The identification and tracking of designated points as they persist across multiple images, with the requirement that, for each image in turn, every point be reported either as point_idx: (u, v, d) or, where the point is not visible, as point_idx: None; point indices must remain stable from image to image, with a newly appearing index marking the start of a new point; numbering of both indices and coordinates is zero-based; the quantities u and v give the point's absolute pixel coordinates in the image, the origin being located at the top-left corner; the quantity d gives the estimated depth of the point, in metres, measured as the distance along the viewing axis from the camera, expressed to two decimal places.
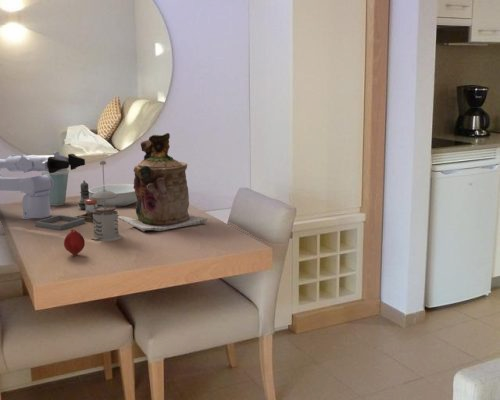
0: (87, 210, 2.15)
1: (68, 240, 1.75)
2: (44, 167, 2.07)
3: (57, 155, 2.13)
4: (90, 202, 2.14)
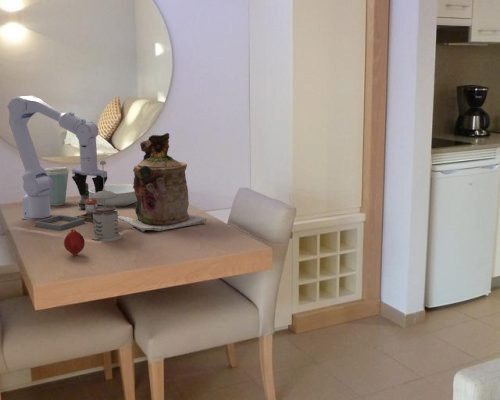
0: (87, 210, 2.15)
1: (68, 240, 1.75)
2: (104, 176, 2.10)
3: None
4: (90, 202, 2.14)
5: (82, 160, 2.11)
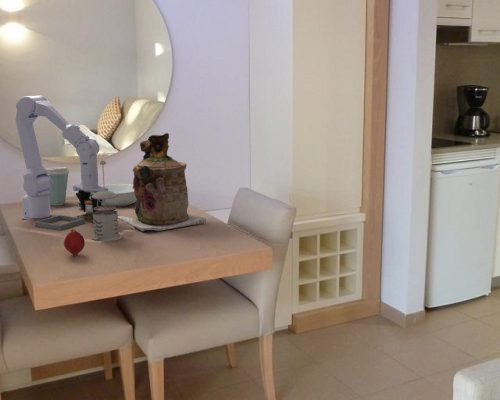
0: (87, 210, 2.15)
1: (68, 240, 1.75)
2: None
3: None
4: (90, 202, 2.14)
5: (83, 177, 2.12)
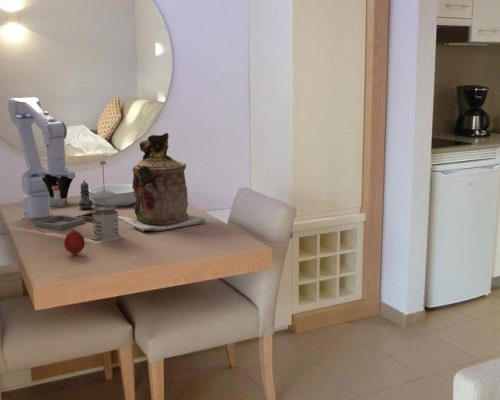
0: (55, 196, 2.07)
1: (68, 240, 1.75)
2: (71, 177, 2.03)
3: None
4: (57, 187, 2.05)
5: (49, 161, 2.03)
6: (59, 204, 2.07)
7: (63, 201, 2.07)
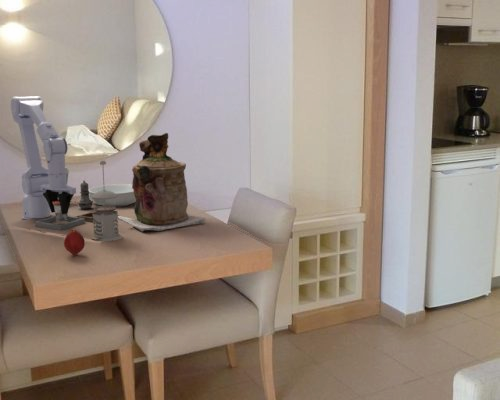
0: (56, 211, 2.08)
1: (68, 240, 1.75)
2: (72, 193, 2.04)
3: None
4: (58, 203, 2.06)
5: (50, 176, 2.04)
6: (60, 219, 2.08)
7: (64, 217, 2.08)
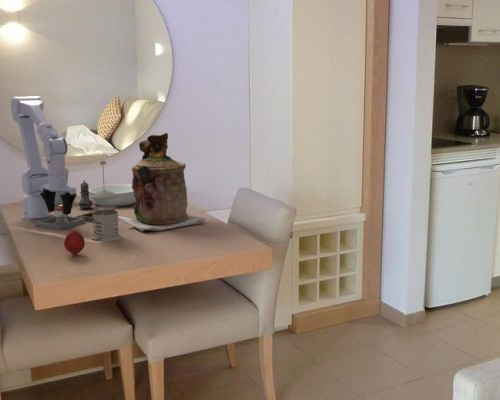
0: (57, 216, 2.08)
1: (68, 240, 1.75)
2: (72, 193, 2.04)
3: None
4: (60, 208, 2.07)
5: (50, 177, 2.04)
6: (60, 224, 2.08)
7: (64, 222, 2.09)
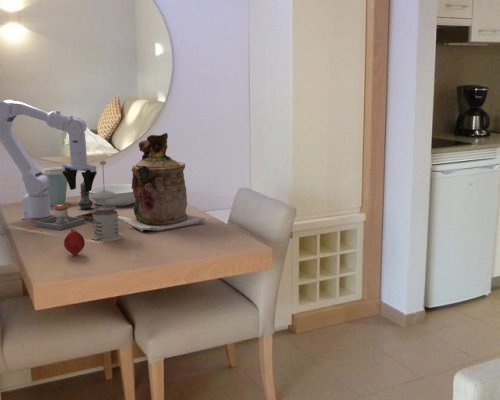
0: (57, 216, 2.08)
1: (68, 240, 1.75)
2: (93, 171, 2.15)
3: None
4: (59, 208, 2.07)
5: (72, 155, 2.16)
6: (60, 224, 2.08)
7: (64, 222, 2.09)
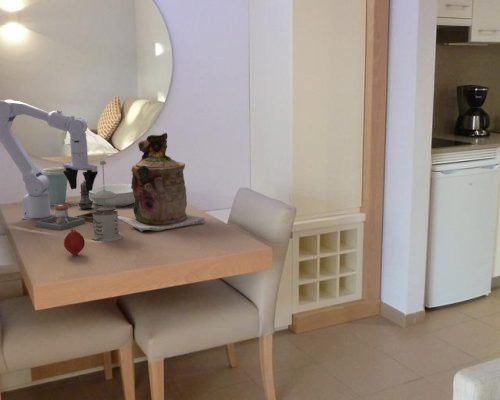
0: (57, 216, 2.08)
1: (68, 240, 1.75)
2: (94, 170, 2.16)
3: None
4: (60, 208, 2.07)
5: (73, 155, 2.16)
6: (60, 224, 2.08)
7: (64, 222, 2.09)
